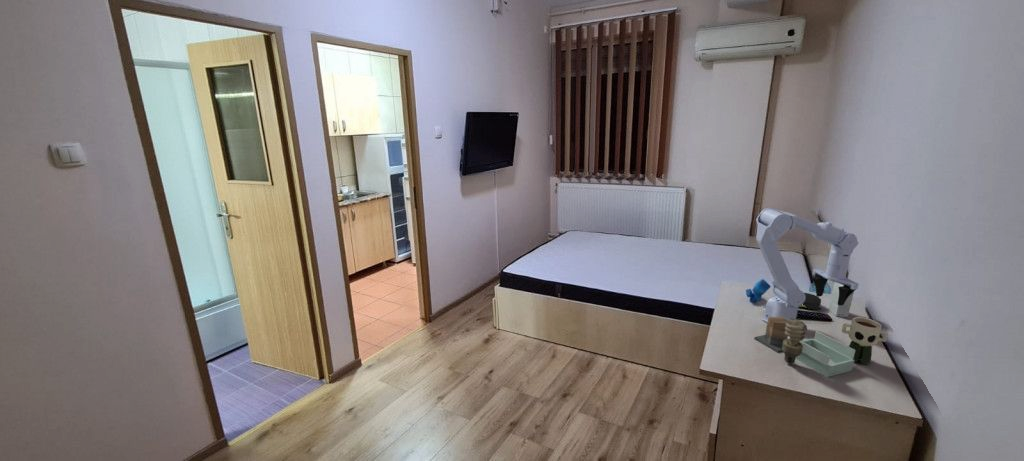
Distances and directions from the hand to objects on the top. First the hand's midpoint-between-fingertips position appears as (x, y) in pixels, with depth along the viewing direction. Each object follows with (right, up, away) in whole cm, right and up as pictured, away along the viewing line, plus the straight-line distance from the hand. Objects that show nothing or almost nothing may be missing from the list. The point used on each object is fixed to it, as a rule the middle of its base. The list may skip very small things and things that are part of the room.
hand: (829, 300), depth 153 cm
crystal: (-13, -4, +23) cm, 27 cm away
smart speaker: (+4, -5, +18) cm, 20 cm away
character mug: (-5, -16, -18) cm, 25 cm away
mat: (-24, -13, -9) cm, 29 cm away
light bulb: (-28, -17, -20) cm, 38 cm away
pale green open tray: (-18, -16, -19) cm, 30 cm away
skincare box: (+12, -7, +12) cm, 18 cm away
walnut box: (-25, -12, -9) cm, 29 cm away
